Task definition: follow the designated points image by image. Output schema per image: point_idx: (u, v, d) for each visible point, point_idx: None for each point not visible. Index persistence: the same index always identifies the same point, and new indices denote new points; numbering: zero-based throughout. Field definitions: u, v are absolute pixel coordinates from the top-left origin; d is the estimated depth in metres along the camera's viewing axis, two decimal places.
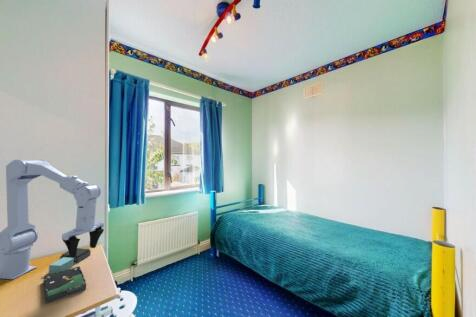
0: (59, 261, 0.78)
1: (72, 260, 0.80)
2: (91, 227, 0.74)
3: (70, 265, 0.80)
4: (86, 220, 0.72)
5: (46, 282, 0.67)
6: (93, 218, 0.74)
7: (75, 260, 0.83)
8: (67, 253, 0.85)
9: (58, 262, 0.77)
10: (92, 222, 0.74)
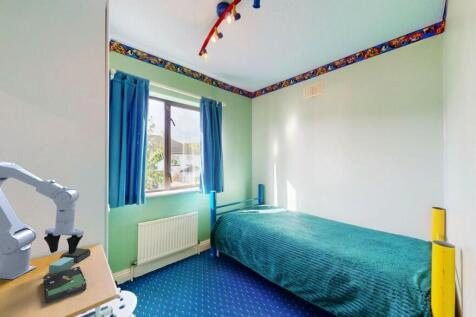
0: (59, 261, 0.78)
1: (72, 260, 0.80)
2: (58, 231, 0.75)
3: (70, 265, 0.80)
4: None
5: (46, 282, 0.67)
6: (60, 223, 0.76)
7: (75, 260, 0.83)
8: (67, 253, 0.85)
9: (58, 262, 0.77)
10: (59, 226, 0.76)
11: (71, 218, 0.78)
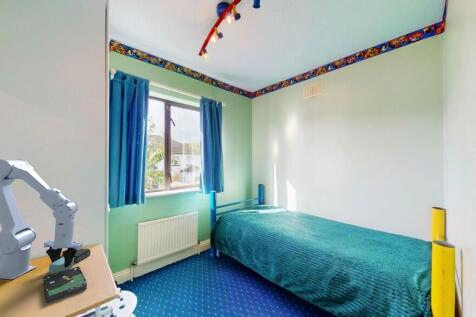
0: (59, 260, 0.78)
1: None
2: (57, 244, 0.75)
3: None
4: None
5: (46, 282, 0.67)
6: (59, 236, 0.76)
7: (75, 260, 0.83)
8: None
9: (58, 261, 0.77)
10: (58, 240, 0.75)
11: (70, 231, 0.78)
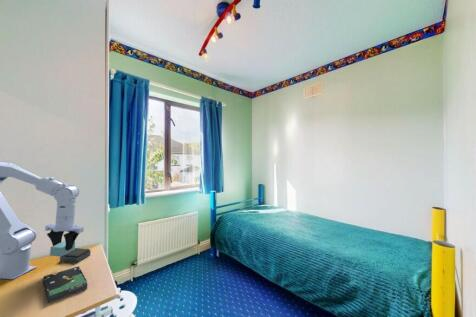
0: (60, 244, 0.78)
1: None
2: (58, 227, 0.75)
3: None
4: (56, 219, 0.76)
5: (46, 282, 0.67)
6: (61, 219, 0.76)
7: (75, 260, 0.83)
8: (67, 253, 0.85)
9: (59, 245, 0.77)
10: (59, 223, 0.76)
11: (71, 214, 0.78)
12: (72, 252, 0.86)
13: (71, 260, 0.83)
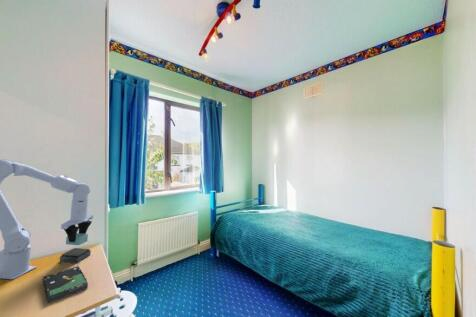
0: (76, 235, 0.86)
1: None
2: (85, 218, 0.87)
3: None
4: (81, 212, 0.85)
5: (46, 282, 0.67)
6: (86, 211, 0.88)
7: (75, 260, 0.83)
8: (67, 253, 0.85)
9: (78, 235, 0.86)
10: (85, 214, 0.88)
11: (86, 207, 0.88)
12: (72, 252, 0.86)
13: (71, 260, 0.83)
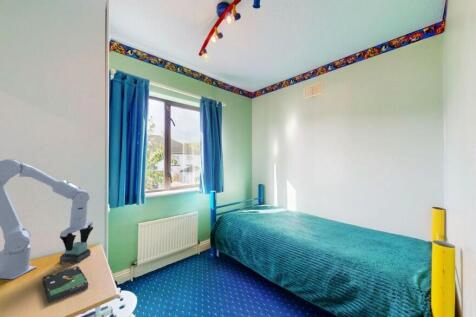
0: (75, 245, 0.86)
1: None
2: (84, 225, 0.87)
3: None
4: (80, 219, 0.85)
5: (46, 282, 0.67)
6: (85, 217, 0.88)
7: (75, 260, 0.83)
8: None
9: (77, 245, 0.86)
10: (85, 221, 0.87)
11: (86, 214, 0.88)
12: None
13: (71, 260, 0.83)
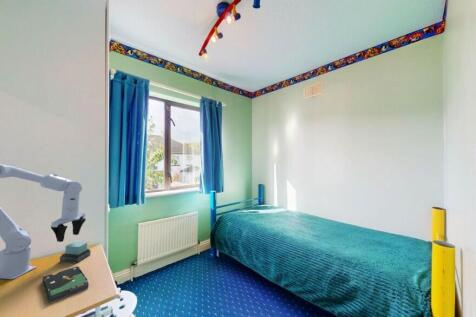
0: (75, 245, 0.86)
1: None
2: (76, 216, 0.86)
3: None
4: (72, 210, 0.84)
5: (46, 282, 0.67)
6: (77, 209, 0.87)
7: (75, 260, 0.83)
8: None
9: (77, 245, 0.86)
10: (77, 212, 0.86)
11: (78, 205, 0.87)
12: None
13: (71, 260, 0.83)
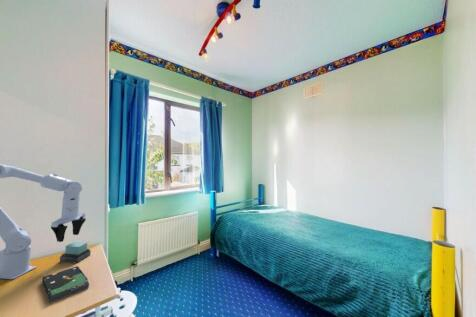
0: (75, 245, 0.86)
1: None
2: (76, 216, 0.86)
3: None
4: (72, 210, 0.84)
5: (46, 282, 0.67)
6: (77, 209, 0.87)
7: (75, 260, 0.83)
8: None
9: (77, 245, 0.86)
10: (77, 212, 0.86)
11: (78, 205, 0.87)
12: None
13: (71, 260, 0.83)
